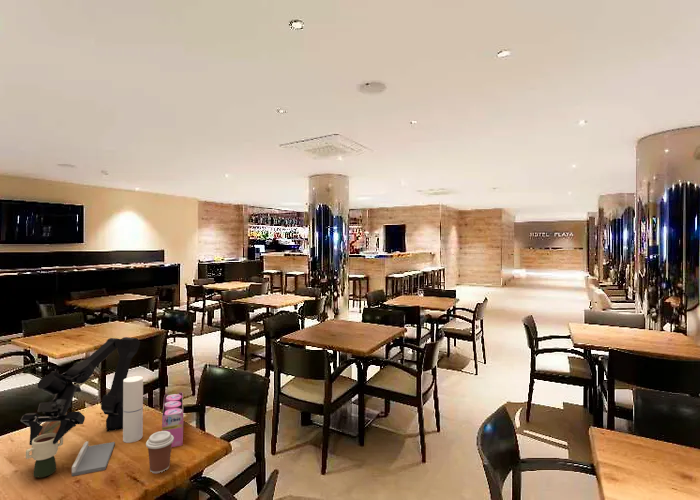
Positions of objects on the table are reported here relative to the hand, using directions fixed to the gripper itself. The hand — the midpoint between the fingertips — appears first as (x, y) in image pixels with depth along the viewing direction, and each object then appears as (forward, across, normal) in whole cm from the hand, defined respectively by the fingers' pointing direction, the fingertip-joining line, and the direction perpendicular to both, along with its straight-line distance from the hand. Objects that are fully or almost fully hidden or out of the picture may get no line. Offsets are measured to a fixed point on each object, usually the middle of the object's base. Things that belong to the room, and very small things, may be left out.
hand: (42, 444), depth 129 cm
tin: (-11, -13, +28) cm, 33 cm away
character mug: (+7, 0, +9) cm, 12 cm away
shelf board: (+2, +12, +14) cm, 19 cm away
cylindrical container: (-8, +20, +25) cm, 33 cm away
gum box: (-10, +35, +26) cm, 45 cm away
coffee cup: (+8, +39, +9) cm, 40 cm away
